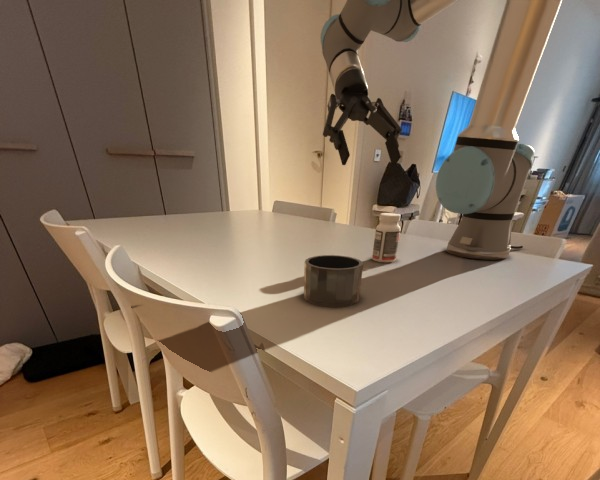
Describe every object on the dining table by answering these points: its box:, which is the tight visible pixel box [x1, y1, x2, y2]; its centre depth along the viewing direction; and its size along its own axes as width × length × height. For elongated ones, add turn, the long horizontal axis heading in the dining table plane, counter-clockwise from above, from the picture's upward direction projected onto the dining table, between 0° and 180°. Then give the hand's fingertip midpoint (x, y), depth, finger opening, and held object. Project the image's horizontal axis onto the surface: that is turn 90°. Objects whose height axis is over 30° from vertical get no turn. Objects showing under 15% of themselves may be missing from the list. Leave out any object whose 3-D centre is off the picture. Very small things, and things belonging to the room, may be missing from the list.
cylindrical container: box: [303, 254, 364, 308], centre depth 57 cm, size 10×10×6 cm
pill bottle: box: [371, 212, 402, 263], centre depth 79 cm, size 6×6×10 cm
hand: (371, 161), depth 79 cm, fingers open, 13 cm apart
